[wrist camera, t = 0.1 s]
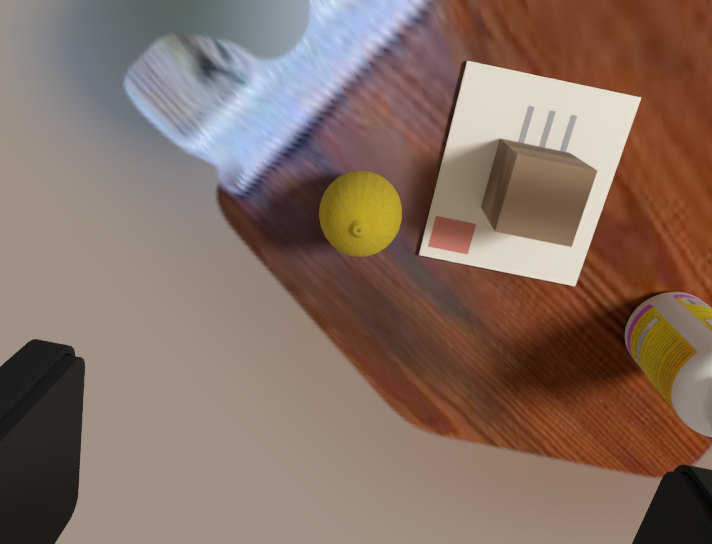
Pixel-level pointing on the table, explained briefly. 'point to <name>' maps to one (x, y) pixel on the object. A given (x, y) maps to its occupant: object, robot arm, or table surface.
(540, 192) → the walnut block
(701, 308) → the supplement bottle
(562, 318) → the table surface
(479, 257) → the letter
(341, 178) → the lemon
